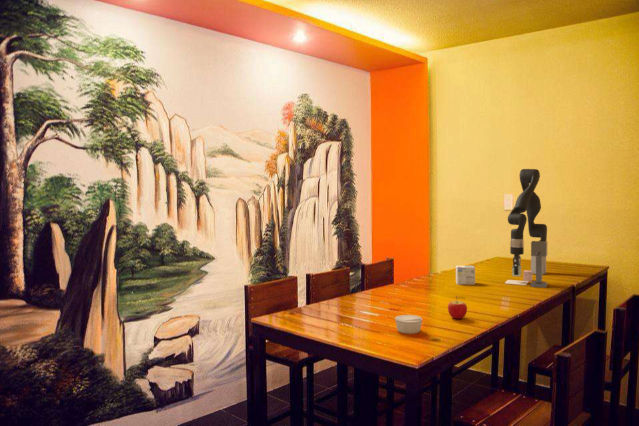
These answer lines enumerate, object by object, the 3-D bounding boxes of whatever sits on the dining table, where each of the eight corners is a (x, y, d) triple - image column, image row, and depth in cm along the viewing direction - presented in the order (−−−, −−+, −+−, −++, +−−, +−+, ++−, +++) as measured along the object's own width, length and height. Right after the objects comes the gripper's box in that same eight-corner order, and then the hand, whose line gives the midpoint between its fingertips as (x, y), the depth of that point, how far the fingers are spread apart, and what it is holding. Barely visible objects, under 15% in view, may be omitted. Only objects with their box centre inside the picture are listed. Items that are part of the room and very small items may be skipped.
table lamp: (532, 284, 300) (532, 240, 298) (547, 285, 296) (547, 241, 294) (530, 287, 291) (530, 242, 290) (545, 288, 287) (545, 243, 286)
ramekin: (413, 336, 201) (413, 323, 200) (389, 331, 208) (389, 318, 208) (427, 330, 209) (427, 317, 209) (404, 325, 216) (404, 313, 216)
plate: (507, 280, 313) (507, 279, 313) (528, 281, 307) (528, 281, 307) (504, 283, 303) (504, 283, 303) (525, 285, 297) (525, 284, 297)
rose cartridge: (524, 279, 314) (524, 270, 314) (532, 280, 312) (532, 270, 312) (523, 281, 310) (523, 271, 310) (531, 281, 308) (531, 271, 308)
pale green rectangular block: (513, 274, 308) (513, 265, 307) (521, 275, 305) (521, 265, 305) (512, 275, 304) (512, 266, 303) (520, 276, 301) (520, 266, 301)
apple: (463, 315, 231) (463, 294, 230) (469, 320, 222) (469, 298, 222) (445, 316, 230) (445, 294, 230) (451, 321, 222) (451, 298, 221)
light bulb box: (473, 282, 307) (473, 265, 307) (475, 284, 301) (475, 267, 300) (455, 282, 308) (455, 265, 308) (457, 284, 302) (457, 267, 301)
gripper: (521, 247, 296) (521, 276, 296) (525, 245, 308) (525, 272, 309) (508, 247, 299) (508, 275, 300) (512, 244, 312) (512, 272, 313)
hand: (516, 274), depth 304 cm, fingers closed on pale green rectangular block, 4 cm apart
